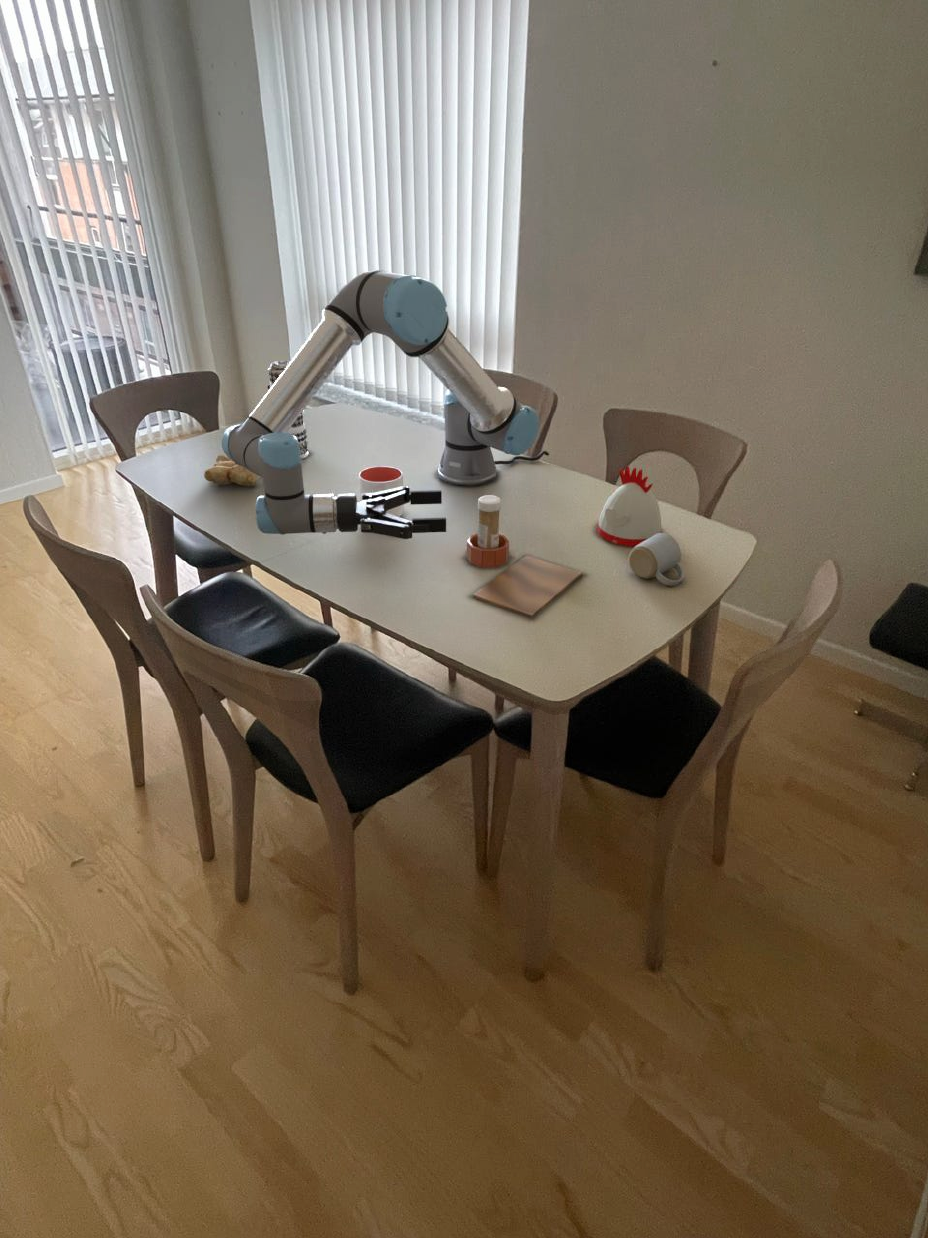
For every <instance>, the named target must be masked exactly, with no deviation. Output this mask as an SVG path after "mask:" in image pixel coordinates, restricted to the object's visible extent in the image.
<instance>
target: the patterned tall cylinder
mask: <svg viewBox="0 0 928 1238" xmlns="http://www.w3.org/2000/svg"><path fill="white" fill-rule="evenodd" d="M291 361H292V360H291ZM291 361H290V360H277V361H274V362H271V364H270V366H269V367H268V368H267V369H266V371H268V374H269V375H268V376H269V385H267V387H266V388H267V389H268V391H269V390H270V389H271V387H272V386H273V385H274V383H275V382H276V381H277V379H278V378H279V377H280V375H281V374H282V373H283V371H284V370H285V369H286V368H287V366H288V365H289V364H290V362H291ZM304 414H305V409H304V410H303V411H302V412H301V414H300V415H299V416H298V418H297V419H296V420H295V422H294V423H293V424H292V426H291V427H290V428H289V430H288V431H287V432H286V433H289V434H292V435H294V436H295V437H296V438H297V440H298V443H299V449H300V452H301V457H302V459H301V460H303V459H306V458H307V457H308V456H309V447H308V441H307V438H308V435H307V429H306V427H305V426H306V425H305V422H304Z"/></svg>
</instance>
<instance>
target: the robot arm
mask: <svg viewBox="0 0 928 1238" xmlns="http://www.w3.org/2000/svg"><path fill="white" fill-rule="evenodd" d="M447 307H448V304H447V300H446V298H445V296H444V294H443V292H442V291H441V289H440V288H439V287H438V286H437V285H436V283H435V284H434V282H432V281H430V280H429V279H425V278H423V277H421V276H418V275H414V274H413V275H412V274H404V273H403V274H401V273H396V272H390V271H386V270H382V269H371V270H367V271H364V272H362V273H361V272H360V273H359V274H357V275H356V276H355V277H352V279H350V280H349V281H348V282H347V283H346V284H344V285H343V286H342V288H340V290H339V291H337V293H336V294H335V295H334V296H333V297H332V298H331V300H330V301H329V302H328V303H327V305H326V306H325V308H323V310H322V311H321V318H322V319H321V321H320V323H319V324H318V325H317V327H316V328H315V329H314V330H313V332H312V333H311V334H310V335H309V337H308V338H307V340H306V341H305V343H304V344H303V345H302V346H301V348H300V349H299V350H298V352H297V353H296V354H295V355H294V357H293V358H292V360H291V362H290V364H289V365H288V366H287V368H286V369H285V370H284V371H283V373H282V374H281V375H280V377H279V378H278V379H277V381H276V382H275V383H274V385H273V386H272V387H271V389H270V390H269V389H268V391H267V393H266V394H265V395H264V396H263V398H262V399H261V400H260V402H259V403H258V404H257V406H256V407H255V408H254V409H253V411H252V412H251V413H250V414H249V416H248V417H247V419H245V421H244V422H243V424H234V425H232V426H230V427H228V428H227V429H226V430H225V431H224V433H223V435H222V438H221V448H222V451H223V453H224V455H226V456H227V457H228V458H230V459H231V460H233V462H234V463H236V464H237V465H240V466H242V467H244V468H246V469H248V470H250V471H251V472H253V473H255V474H256V475H258V477H259V478H261V479H262V482H263V483H262V484H263V490H264V495H260V496H257V499H256V501H255V520H256V525H257V528H258V529H259V531H260V532H261V533H263V534H270V535H271V534H273V535H282V536H283V535H288V534H289V535H290V534H309V533H310V534H311V533H312V534H314V533H315V534H316V533H322V535H326V534H327V533H335V532H337V530H338V531H339V532H340V533H355V532H357V531H358V529H359V525H360V533H363V534H375V535H376V534H377V535H381V536H386V537H391V538H398V539H403V540H408V539H412V538H413V534H422V533H423V534H424V533H426V534H427V533H429V534H430V533H447V517H421V518H420V517H418V518H417V517H416V518H414V517H413V518H411V520H409V519H405V518H402V517H396V516H393V515H390V514H387V513H386V511H387V510H390V509H393V508H395V507H398V506H401V505H403V504H404V505H406V504H408V503H410V505H411V506H412V505H442V504H443V500H442V499H443V497H442V496H443V492H442V491H443V490H442V489H438V490H437V489H436V490H434V489H433V490H410V488H411V487H410V486H407V485H405V486H403V487H399V488H394V489H389V490H385V491H380V492H375V493H367V494H362V501H360V500H358V497H357V495H356V494H355V493H338V495H335V494H334V493H324V494H323V493H322V494H321V493H320V494H319V493H318V494H305V486H304V485H305V484H304V475H303V464H302V463H303V461H302V460H303V459H302V457H301V452H300V449H299V443H298V440H297V438H296V437H295V436H294V435H292V434H289V433H286V432H287V431H288V430H289V428H290V427H291V426H292V424H293V423H294V422H295V420H296V419H297V418H298V416H299V415H300V414H301V412H302V411H303V410H304V411H305V408H306V407H307V406H308V405H309V403H310V402H311V401H312V399H314V397H315V395H316V394H317V393H318V392H319V390H320V389H321V388H322V386H323V385H324V384H325V382H326V381H327V380H328V379H329V377H330V376H331V374H332V373H333V372H334V371H335V369H336V368H337V367H338V365H339V364H340V363H341V362H342V361H343V359H344V357H345V356H346V355H347V353H348V352H349V351H350V349H351V348H352V347H355V346H356V347H357V346H360V345H361V344H362V342H364V340H365V339H366V338H367V337H368V336H369V335H371V334H373V333H375V334H380V335H382V336H386V337H388V338H389V339H390V340H391V341H392V342H393V343H394V344H395V345H396V346H397V347H398V348H399V350H401V351H402V352H403V353H404V355H406V356H407V357H409V358H418V359H419V360H420V361H421V362H422V363H423V364H424V365H425V366H426V367H427V368H428V370H430V372H431V373H432V374H433V375H434V376H435V377H436V378H437V380H439V382H440V383H441V384H442V385H443V386H444V387H445V388H446V389H447V390H446V392H445V395H444V404H443V407H444V449H443V452H442V455H441V458H440V461H439V465H438V468H437V469H438V471H437V472H438V473H437V474H438V478H439V479H440V480H441V481H443V482H444V483H445V482H446V483H447V484H451V485H456V486H466V487H468V486H470V487H471V486H480V485H485V484H488V483H491V482H492V481H494V480H495V479H496V478H497V471H498V470H497V465H511V464H513V463H514V462H515V461H518V460H519V461H520V460H521V461H528V462H534V461H538V460H540V459H541V458H542V457H543V456H544V455H545V456H547V457H548V456H550V453H549V452H548V451H547V450H542V451H541V452H539V454H538V455H536V456H532V457H530V456H524V455H523V454H524V453H525V454H526V452H527V451H529V450H530V449H531V447H532V446H533V444H534V443H535V440H536V438H537V436H538V433H539V427H540V417H539V413H538V412H537V411H536V410H535V408H533V407H531V406H529V405H524V404H522V403H520V401H518V399H517V398H516V396H514V394H513V393H512V391H510V389H508V388H506V387H503V386H498V385H497V384H496V383H495V382H494V381H493V380H492V378H491V377H490V376H489V374H487V372H486V371H485V370H484V368H483V367H482V366H481V364H479V363H478V360H476V358H474V356H473V355H472V354H471V353H470V351H469V350H468V349H467V348H466V346H464V344H463V343H462V341H460V340H459V338H458V337H457V335H456V334H455V333H454V332H453V331H452V330H451V329H450V327H449V326H450V316H449V314H448V311H447ZM492 449H495V450H497V451H500V452H503V453H504V454H506V455H511V456H513V457H511V459H510V460H495V459H494V456H493V452H492Z"/></svg>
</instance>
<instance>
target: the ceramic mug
mask: <svg viewBox="0 0 928 1238" xmlns="http://www.w3.org/2000/svg"><path fill="white" fill-rule="evenodd" d="M681 560H682V549H681V547H680V545H679V543H678V541H677V540H676V539H675V537H673V536H672V535H670V534H669V533H666V532H661V533H657V534H655V535H654V536H652V537H650V538H648V539H647V540H645V541H643V542H642V543H640V544H638V545H637V546H633V548H632V549H631V550H630V552H629V555H628V562H629V566H630V568H631V570H632V572H634V574H635V575H636V576H638V577H640V578H642V579H653V578H656V579H657V580H658V581H659V582H660V583H662V584H663V585H666V586H669V587H674V586H677V585H679V584H680V583H681V582H682V581H683V579H684V576H685V572H684V570H683V568H682V566H681V564H680V563H681ZM673 569H674V570H675V572H676V573H677V575H678V579H676V580H673V579H669V578H667V577H666V576H665V575H663V574H664V573H666V572H668V571H671V570H673Z"/></svg>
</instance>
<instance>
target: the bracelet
mask: <svg viewBox="0 0 928 1238" xmlns="http://www.w3.org/2000/svg"><path fill="white" fill-rule="evenodd" d="M509 554H510V540H509V539H508V538H507V537H506V536H505V535H503V534H500V533H499V544H498V548H497V549H481V548H478V533H475V534H472V535H470V536H469V538H468V539H467V541H466V560H467V561H468V562H469V563H470V565H473V566H474V567H475V566H476V567H478V568H483V569H493V568H494V569H495V568H498V567H501V566H504V565H506V564H507V562H508V561H509V557H510V555H509Z"/></svg>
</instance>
